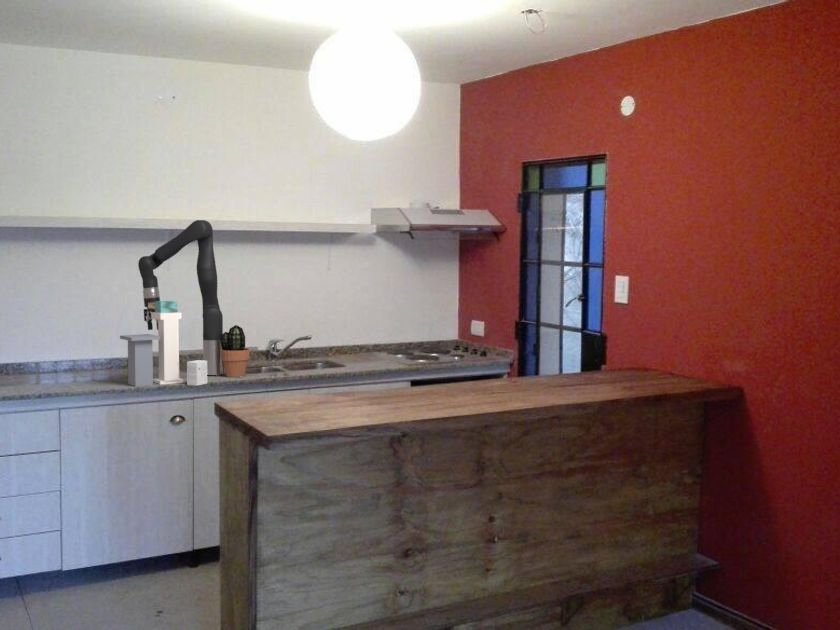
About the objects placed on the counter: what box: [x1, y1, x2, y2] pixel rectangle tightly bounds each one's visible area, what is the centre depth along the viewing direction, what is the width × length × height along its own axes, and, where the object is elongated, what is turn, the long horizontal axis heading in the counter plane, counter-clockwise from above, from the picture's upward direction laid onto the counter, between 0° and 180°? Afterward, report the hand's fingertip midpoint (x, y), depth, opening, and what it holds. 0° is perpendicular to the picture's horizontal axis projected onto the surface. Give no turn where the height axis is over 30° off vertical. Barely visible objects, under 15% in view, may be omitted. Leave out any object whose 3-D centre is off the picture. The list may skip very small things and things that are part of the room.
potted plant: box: [220, 324, 251, 378], centre depth 408 cm, size 14×14×25 cm
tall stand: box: [151, 311, 184, 385], centre depth 387 cm, size 11×10×32 cm
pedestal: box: [119, 333, 160, 387], centre depth 379 cm, size 13×13×22 cm
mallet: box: [148, 300, 178, 313], centre depth 391 cm, size 8×20×5 cm, turn 41°
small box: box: [186, 359, 208, 387], centre depth 382 cm, size 8×6×10 cm
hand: (154, 329), depth 415 cm, fingers open, 8 cm apart
